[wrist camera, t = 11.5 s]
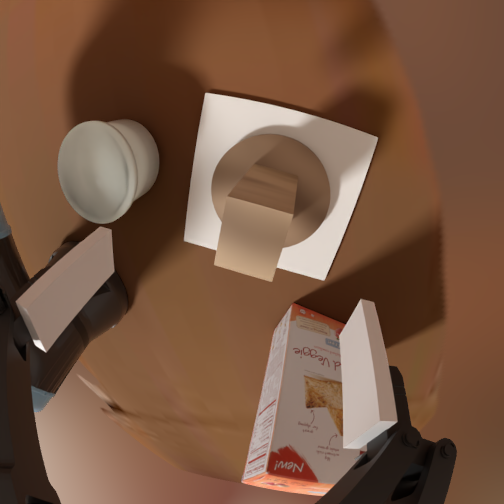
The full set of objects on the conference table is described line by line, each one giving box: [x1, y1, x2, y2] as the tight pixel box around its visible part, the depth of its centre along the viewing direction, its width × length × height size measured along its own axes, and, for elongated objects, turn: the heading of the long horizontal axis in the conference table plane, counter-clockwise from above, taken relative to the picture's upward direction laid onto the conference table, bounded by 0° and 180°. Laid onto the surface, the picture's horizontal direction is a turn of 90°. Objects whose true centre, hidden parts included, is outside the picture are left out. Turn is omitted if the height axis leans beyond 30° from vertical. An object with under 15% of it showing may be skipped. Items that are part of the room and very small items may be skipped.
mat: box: [184, 93, 378, 280], centre depth 26 cm, size 16×16×1 cm
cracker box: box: [242, 303, 367, 496], centre depth 25 cm, size 14×6×21 cm, turn 69°
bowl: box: [58, 119, 159, 224], centre depth 25 cm, size 10×10×6 cm
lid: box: [211, 134, 330, 282], centre depth 22 cm, size 11×11×10 cm
